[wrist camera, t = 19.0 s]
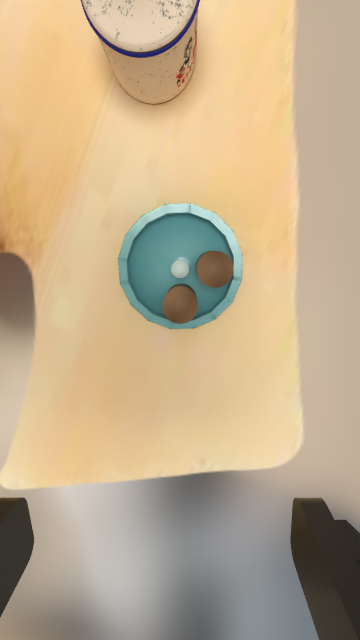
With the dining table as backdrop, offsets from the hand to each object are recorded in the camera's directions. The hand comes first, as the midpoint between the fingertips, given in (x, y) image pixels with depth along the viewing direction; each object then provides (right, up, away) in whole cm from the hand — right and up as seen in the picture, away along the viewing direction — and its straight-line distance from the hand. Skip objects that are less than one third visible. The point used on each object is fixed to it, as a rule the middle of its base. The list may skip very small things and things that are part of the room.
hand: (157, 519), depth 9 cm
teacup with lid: (-2, +34, +21) cm, 40 cm away
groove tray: (+1, +12, +26) cm, 29 cm away
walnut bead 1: (+1, +9, +26) cm, 27 cm away
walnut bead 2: (+4, +12, +25) cm, 28 cm away
